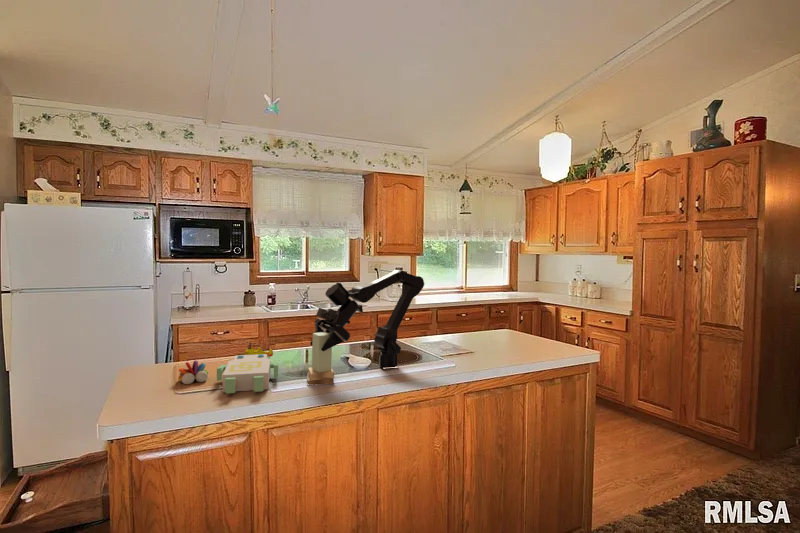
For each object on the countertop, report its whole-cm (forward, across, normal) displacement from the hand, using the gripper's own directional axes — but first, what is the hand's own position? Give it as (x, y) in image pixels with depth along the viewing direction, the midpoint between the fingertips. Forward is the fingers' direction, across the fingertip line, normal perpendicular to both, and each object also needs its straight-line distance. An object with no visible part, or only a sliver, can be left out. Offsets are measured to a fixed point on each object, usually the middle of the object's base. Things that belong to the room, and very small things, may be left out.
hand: (316, 347), depth 153 cm
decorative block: (+23, -11, -6) cm, 26 cm away
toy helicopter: (+19, -28, -1) cm, 34 cm away
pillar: (+4, 0, +7) cm, 8 cm away
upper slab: (+6, 0, +9) cm, 11 cm away
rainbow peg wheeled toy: (+34, -24, -17) cm, 45 cm away
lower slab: (+8, 0, +10) cm, 13 cm away
